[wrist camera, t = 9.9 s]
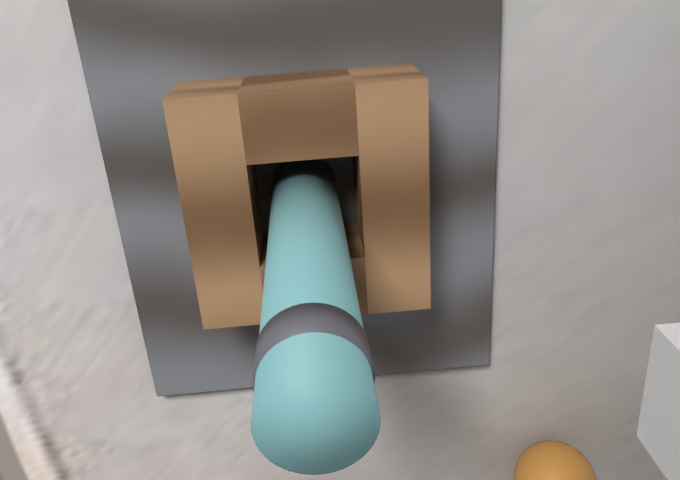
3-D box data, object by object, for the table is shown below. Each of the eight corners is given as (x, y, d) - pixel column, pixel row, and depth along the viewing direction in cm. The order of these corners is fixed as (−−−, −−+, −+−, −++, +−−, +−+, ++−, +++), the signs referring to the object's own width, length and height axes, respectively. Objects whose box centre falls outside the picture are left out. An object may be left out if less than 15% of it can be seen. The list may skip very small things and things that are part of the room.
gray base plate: (57, -70, 23) (10, -76, 19) (499, -101, 23) (539, -113, 19) (159, 388, 31) (140, 447, 27) (485, 357, 31) (511, 411, 28)
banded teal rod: (268, 156, 26) (240, 375, 12) (334, 151, 26) (380, 362, 12) (275, 217, 27) (256, 482, 13) (338, 212, 27) (385, 470, 13)
